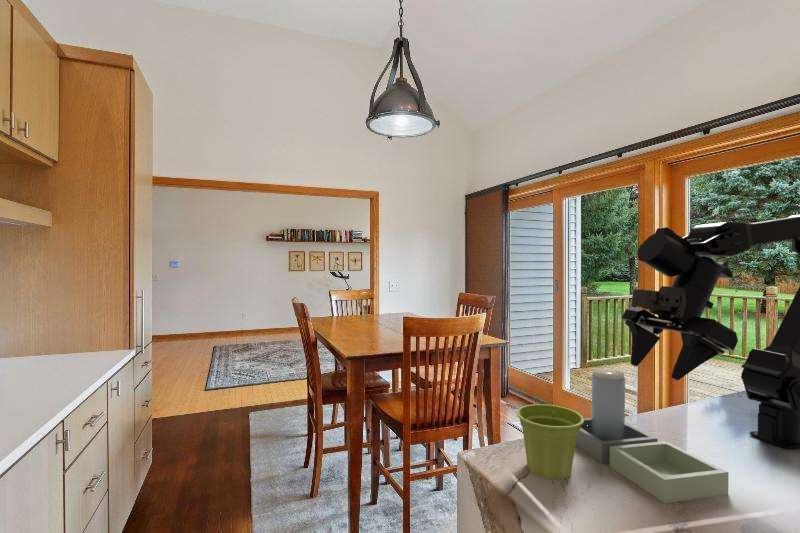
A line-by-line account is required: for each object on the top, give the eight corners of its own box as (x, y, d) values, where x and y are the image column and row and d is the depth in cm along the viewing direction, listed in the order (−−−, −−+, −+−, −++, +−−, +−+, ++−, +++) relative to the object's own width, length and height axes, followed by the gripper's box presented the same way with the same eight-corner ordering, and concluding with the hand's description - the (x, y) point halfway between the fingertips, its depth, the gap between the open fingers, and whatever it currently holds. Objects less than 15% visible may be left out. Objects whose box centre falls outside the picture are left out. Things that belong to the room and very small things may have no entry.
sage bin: (665, 463, 66) (665, 441, 66) (728, 498, 56) (728, 472, 56) (609, 469, 64) (609, 446, 64) (664, 507, 54) (664, 479, 54)
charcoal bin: (612, 435, 77) (612, 416, 77) (657, 460, 67) (657, 438, 67) (563, 439, 75) (563, 420, 75) (601, 466, 65) (601, 443, 65)
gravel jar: (610, 439, 74) (610, 368, 74) (631, 451, 69) (632, 375, 69) (585, 441, 73) (585, 369, 73) (604, 454, 68) (605, 377, 68)
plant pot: (590, 492, 58) (590, 428, 58) (518, 484, 59) (519, 423, 59) (575, 461, 67) (576, 406, 67) (514, 455, 69) (514, 402, 69)
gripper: (617, 267, 80) (581, 340, 79) (701, 268, 62) (656, 363, 61) (663, 294, 82) (628, 366, 81) (759, 302, 63) (716, 396, 62)
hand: (652, 371), depth 71 cm, fingers open, 9 cm apart
